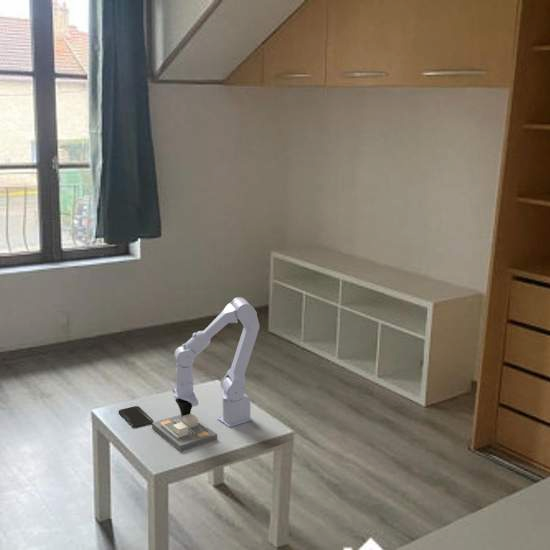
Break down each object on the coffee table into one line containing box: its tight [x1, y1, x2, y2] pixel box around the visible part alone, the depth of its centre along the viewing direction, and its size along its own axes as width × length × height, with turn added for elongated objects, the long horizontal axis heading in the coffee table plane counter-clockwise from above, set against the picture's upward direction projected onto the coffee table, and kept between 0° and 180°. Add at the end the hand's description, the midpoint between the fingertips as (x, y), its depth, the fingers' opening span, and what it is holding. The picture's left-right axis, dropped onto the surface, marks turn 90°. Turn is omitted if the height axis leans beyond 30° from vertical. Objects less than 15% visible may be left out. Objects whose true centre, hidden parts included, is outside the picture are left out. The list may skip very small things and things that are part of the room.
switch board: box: [151, 414, 218, 452], centre depth 245 cm, size 14×20×3 cm
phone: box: [118, 405, 154, 429], centre depth 258 cm, size 8×1×15 cm
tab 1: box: [173, 422, 188, 438], centre depth 241 cm, size 4×4×3 cm
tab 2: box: [183, 412, 199, 428], centre depth 247 cm, size 4×4×3 cm
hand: (185, 417), depth 250 cm, fingers closed
